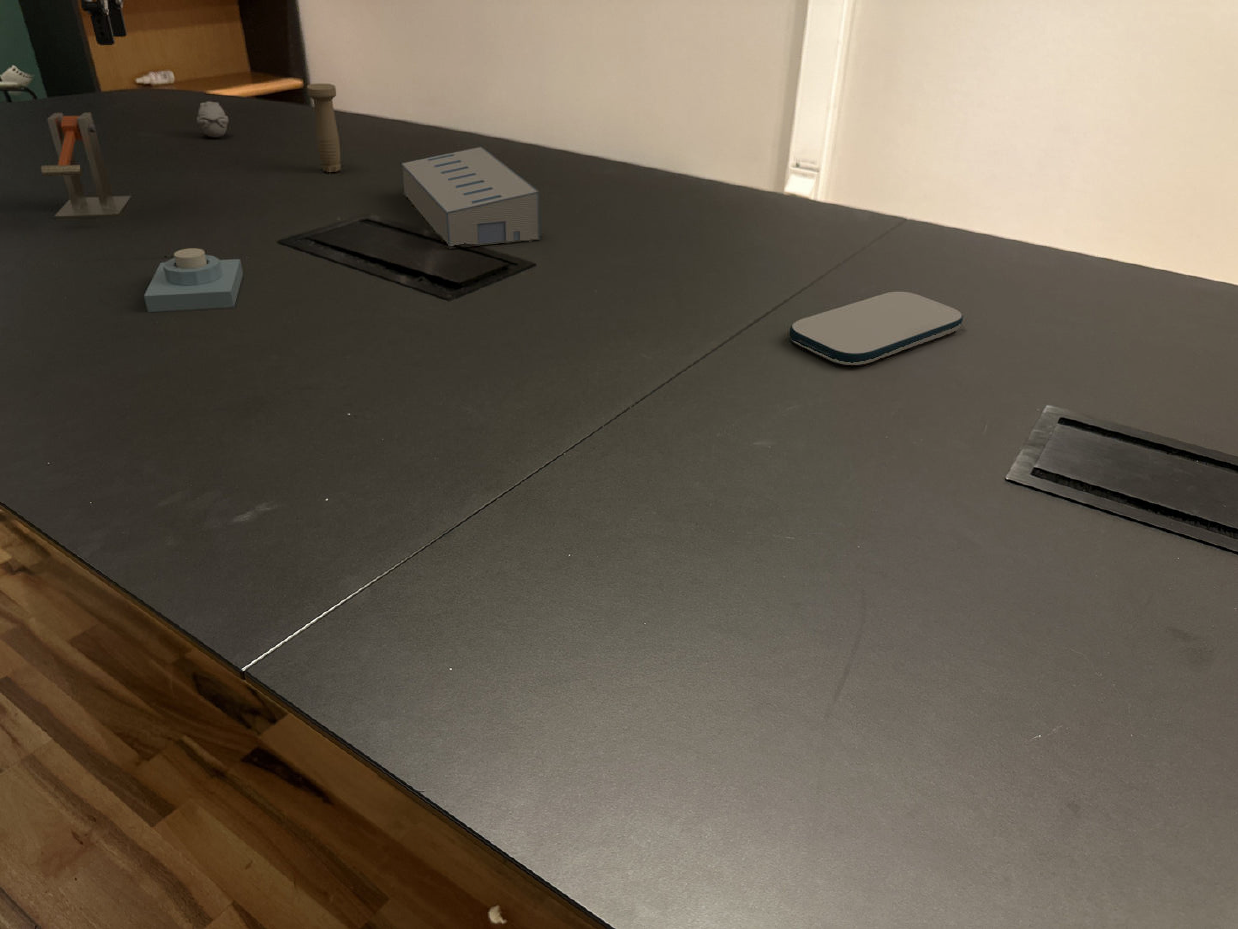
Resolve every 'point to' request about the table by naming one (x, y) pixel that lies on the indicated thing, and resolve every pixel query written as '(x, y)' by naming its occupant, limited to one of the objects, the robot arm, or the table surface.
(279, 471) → the table surface
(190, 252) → the button
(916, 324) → the external hard drive
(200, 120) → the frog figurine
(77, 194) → the bracket
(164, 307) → the button box
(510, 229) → the warehouse
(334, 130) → the handle
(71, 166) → the lever
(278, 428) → the table surface
